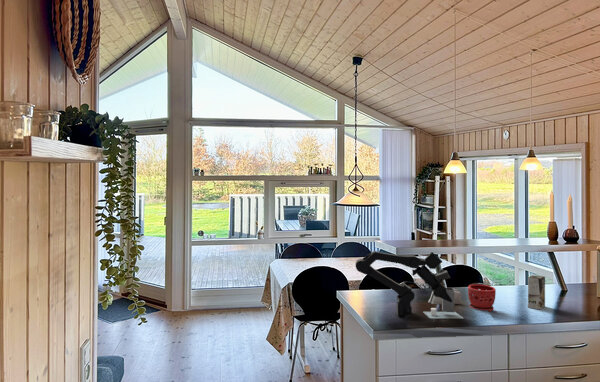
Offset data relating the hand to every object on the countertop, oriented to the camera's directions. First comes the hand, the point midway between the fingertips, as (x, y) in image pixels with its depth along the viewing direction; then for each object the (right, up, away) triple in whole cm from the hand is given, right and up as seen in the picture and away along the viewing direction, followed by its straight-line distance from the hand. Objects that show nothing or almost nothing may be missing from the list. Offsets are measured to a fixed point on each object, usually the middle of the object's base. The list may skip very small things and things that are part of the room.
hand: (451, 300), depth 202 cm
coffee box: (+53, -9, +21) cm, 58 cm away
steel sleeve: (-1, -5, 0) cm, 5 cm away
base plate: (-4, -9, 0) cm, 9 cm away
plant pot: (+21, -9, +14) cm, 27 cm away
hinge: (+6, -9, +27) cm, 29 cm away
